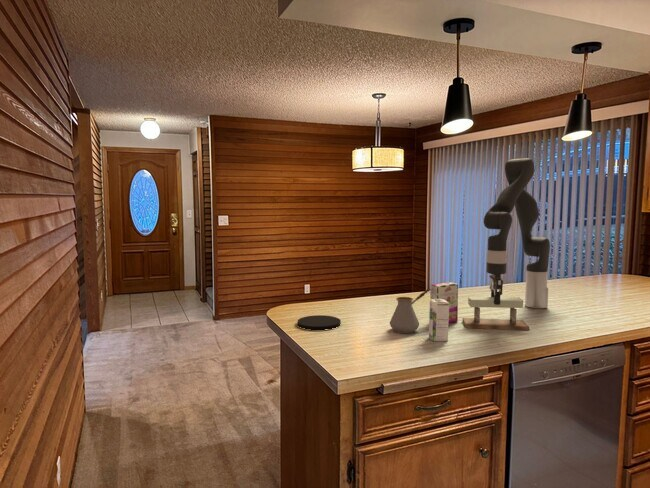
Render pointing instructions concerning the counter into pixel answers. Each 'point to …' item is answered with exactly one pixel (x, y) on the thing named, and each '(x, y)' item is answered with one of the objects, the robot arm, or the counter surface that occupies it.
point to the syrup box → (438, 320)
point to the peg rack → (495, 322)
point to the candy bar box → (447, 297)
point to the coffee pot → (405, 315)
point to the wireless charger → (319, 322)
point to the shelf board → (489, 302)
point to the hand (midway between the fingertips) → (495, 302)
